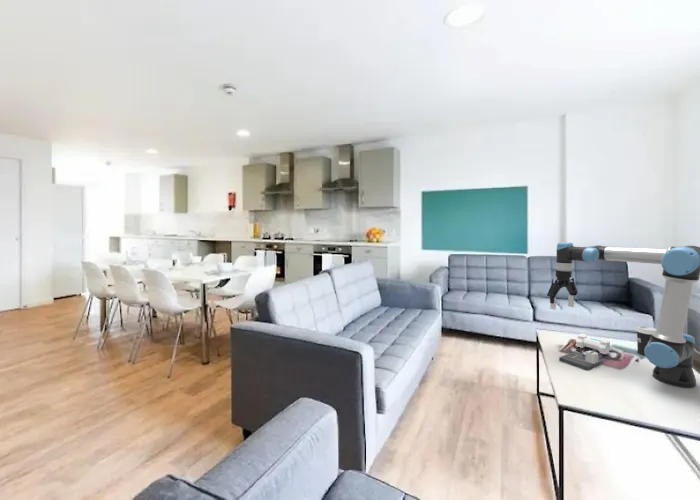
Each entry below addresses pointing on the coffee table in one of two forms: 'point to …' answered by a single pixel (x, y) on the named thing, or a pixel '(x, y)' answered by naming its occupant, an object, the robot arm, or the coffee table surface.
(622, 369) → the coffee table surface
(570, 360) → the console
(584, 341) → the bone shaped toy
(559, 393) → the coffee table surface
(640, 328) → the coffee cup
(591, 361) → the block
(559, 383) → the coffee table surface
